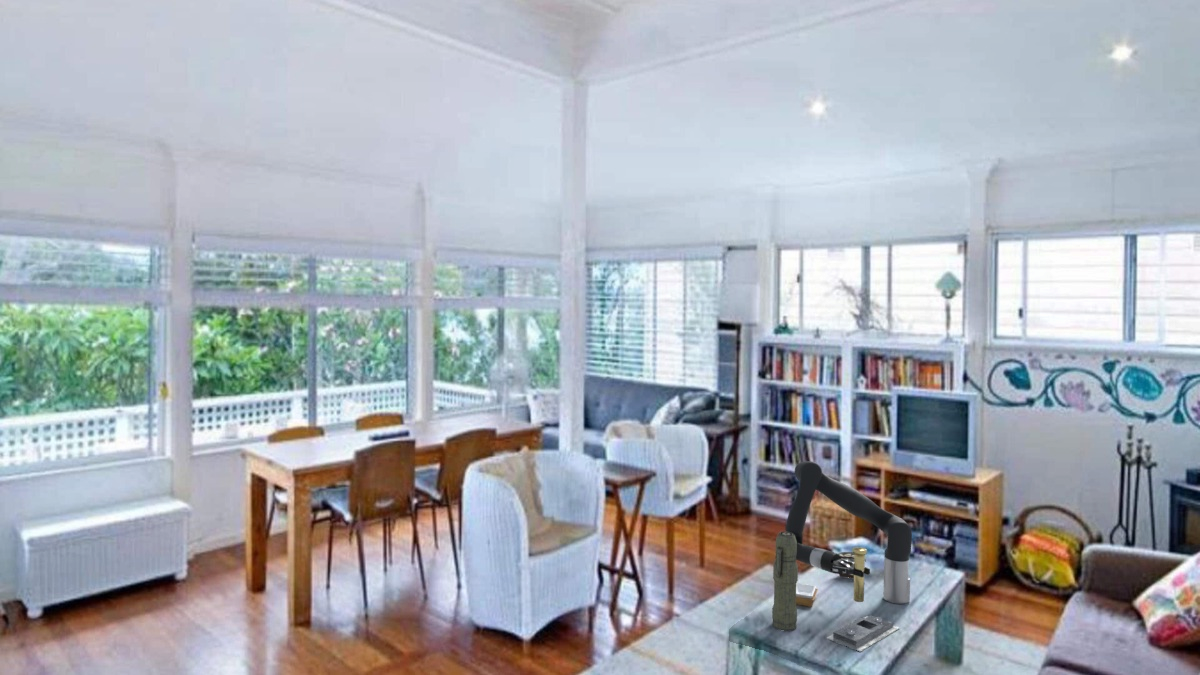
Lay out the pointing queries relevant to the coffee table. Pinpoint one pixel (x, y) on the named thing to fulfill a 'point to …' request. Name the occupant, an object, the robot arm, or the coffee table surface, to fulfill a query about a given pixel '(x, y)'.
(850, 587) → the coffee table surface
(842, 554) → the food container
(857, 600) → the brass pin
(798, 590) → the soap dish
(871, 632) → the bolted mounting plate
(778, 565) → the thermos
